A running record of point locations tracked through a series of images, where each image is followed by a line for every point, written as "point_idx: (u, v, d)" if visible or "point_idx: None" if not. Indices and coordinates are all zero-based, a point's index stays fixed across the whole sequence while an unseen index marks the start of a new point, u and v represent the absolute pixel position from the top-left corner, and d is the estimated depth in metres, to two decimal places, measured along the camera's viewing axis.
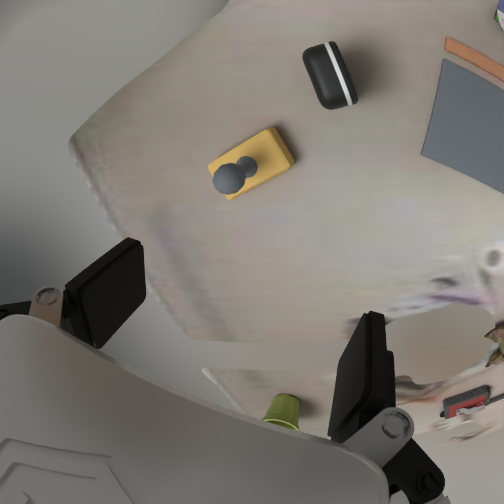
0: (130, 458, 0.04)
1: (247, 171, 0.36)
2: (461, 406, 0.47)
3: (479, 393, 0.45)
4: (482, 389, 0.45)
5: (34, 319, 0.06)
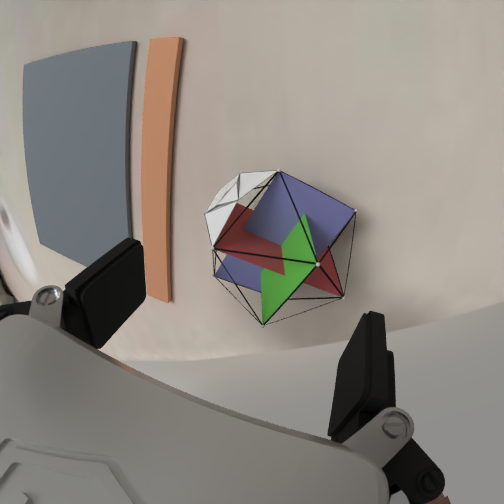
0: (130, 458, 0.04)
1: None
2: None
3: None
4: None
5: (34, 319, 0.06)
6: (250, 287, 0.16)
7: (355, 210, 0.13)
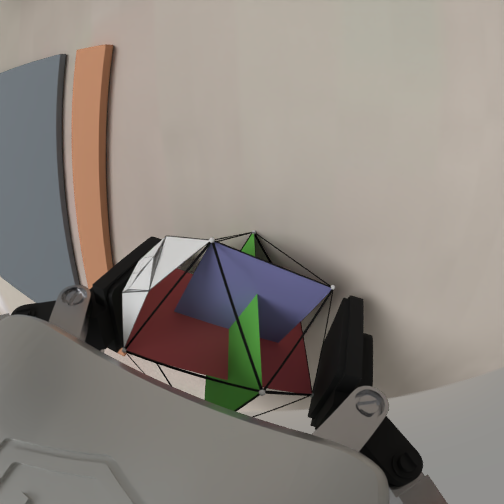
0: (130, 458, 0.04)
1: None
2: None
3: None
4: None
5: (34, 319, 0.06)
6: None
7: (332, 287, 0.09)
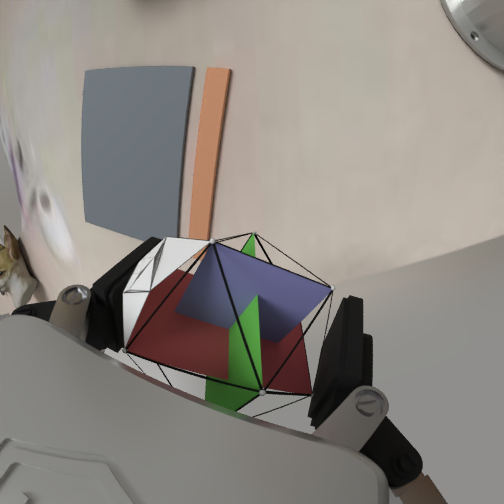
0: (130, 458, 0.04)
1: None
2: None
3: None
4: None
5: (34, 319, 0.06)
6: None
7: (332, 288, 0.09)
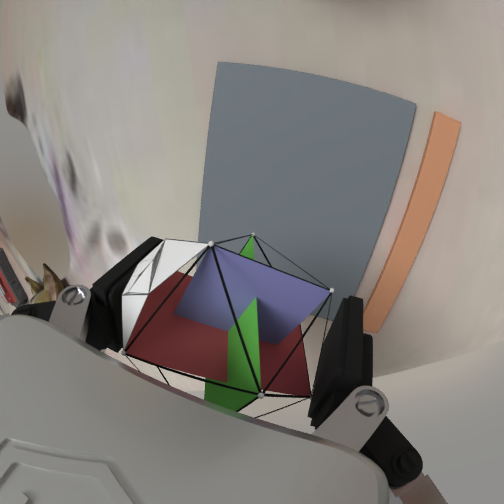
0: (130, 458, 0.04)
1: None
2: None
3: (16, 291, 0.43)
4: (21, 294, 0.44)
5: (34, 319, 0.06)
6: None
7: (331, 290, 0.09)
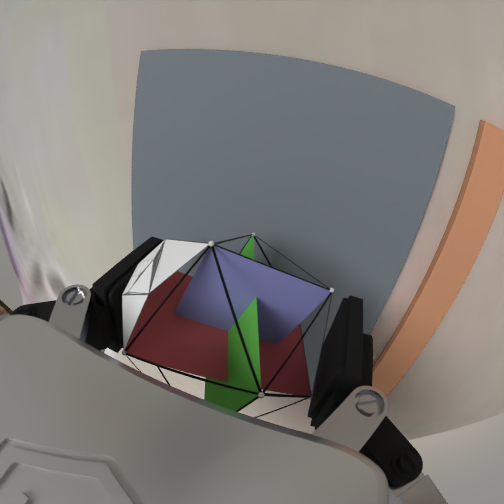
0: (130, 458, 0.04)
1: None
2: None
3: None
4: None
5: (34, 319, 0.06)
6: None
7: (331, 290, 0.09)
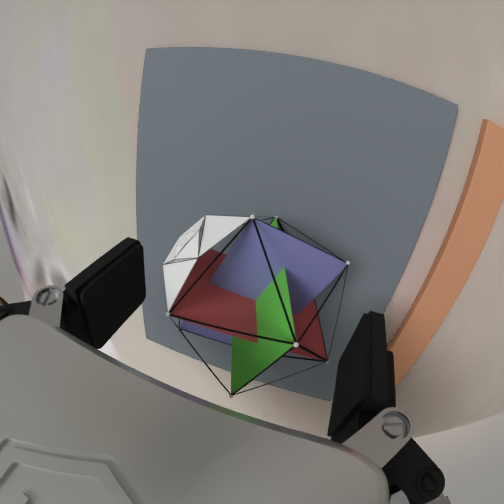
0: (130, 458, 0.04)
1: None
2: None
3: None
4: None
5: (34, 319, 0.06)
6: (220, 340, 0.14)
7: (347, 263, 0.11)
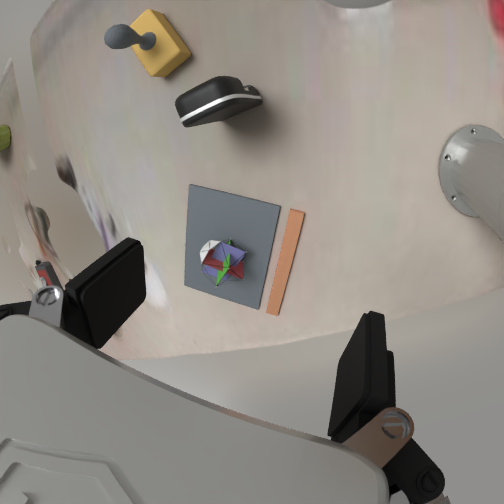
0: (130, 458, 0.04)
1: (140, 44, 0.30)
2: (47, 280, 0.66)
3: None
4: None
5: (34, 319, 0.06)
6: (214, 276, 0.46)
7: None
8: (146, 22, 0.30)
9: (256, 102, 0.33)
